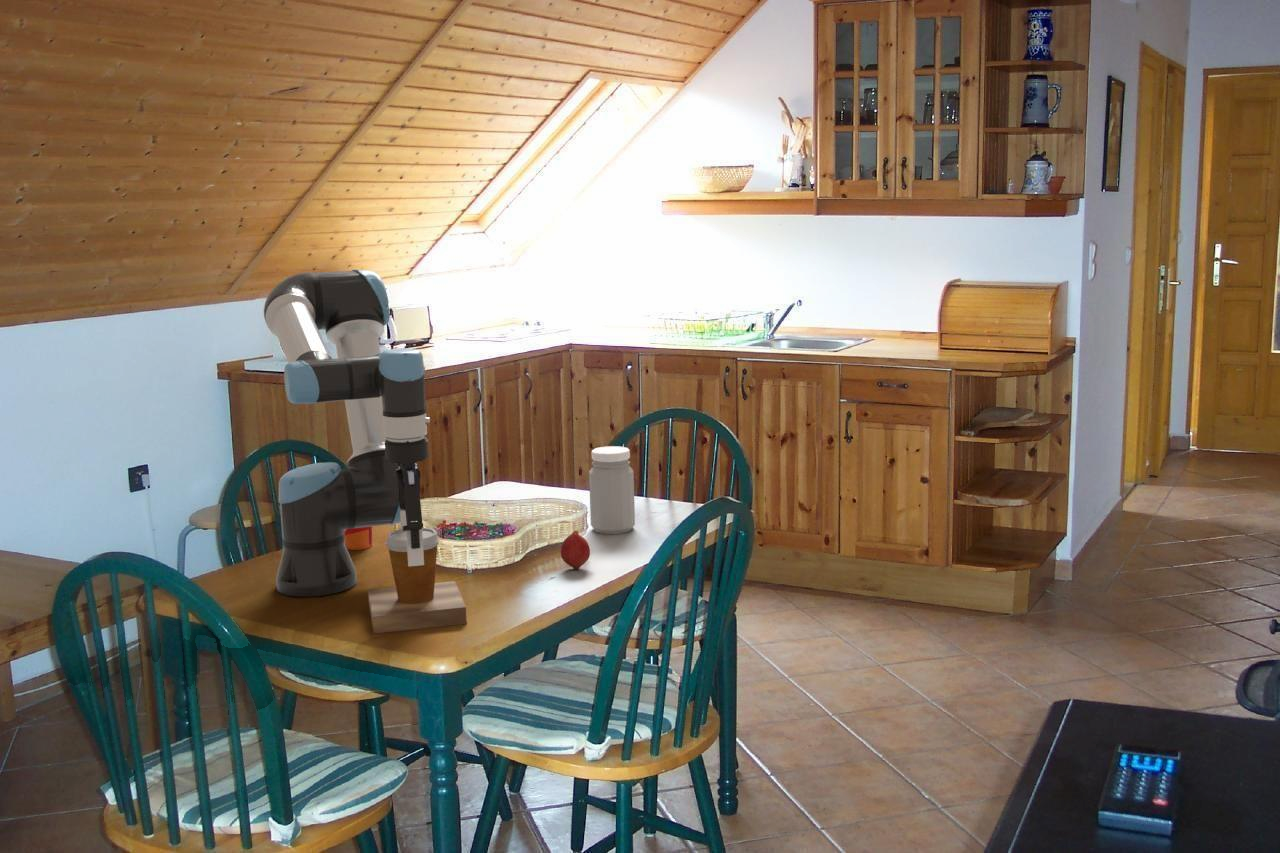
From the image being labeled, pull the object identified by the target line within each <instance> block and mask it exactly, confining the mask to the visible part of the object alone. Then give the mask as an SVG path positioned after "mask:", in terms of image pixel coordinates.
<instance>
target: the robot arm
mask: <svg viewBox="0 0 1280 853" xmlns="http://www.w3.org/2000/svg"><path fill="white" fill-rule="evenodd" d="M389 303H390V301H389V297H388V293H387V290H386V287H385V284H384V282H383V280H382V278H381V277H380V275H379V274H378V273H377V272H375V271H372V270H367V269H366V270H359V269H352V270H343V271H341V270H338V271H326V272H325V271H323V272H322V271H321V272H320V271H319V272H301V273H296V274H293V275H291V276H288V277H287V278H285V279H283V280H282V281H280V282H279V283H278V284H277V285H276V286H274V288H272V290H271V291H270V292H269V294H268V295H267V297H266V299H265V303H264V306H263V317H264V320H265V324H266V325H267V328H268V329H269V331H270V332H271V333H272V334H273V335H274V336H275V337H277V339H278V342H279V344H280V346H281V348H282V350H283V353H284V356H285V358H286V360H287V362H288V363H287V364H285V365H284V366H285V367H284V368H283V370H284V371H283V372H284V373H283V377H284V381H283V382H284V388H285V393H286V398H287V400H288V402H290V403H291V404H294V405H298V404H299V405H301V404H305V405H306V404H307V405H314V404H319V403H328V402H339V401H344V403H345V404H344V405H345V410H346V416H347V422H348V423H347V424H348V429H349V434H350V435H349V436H350V441H351V447H352V454H351V455H350V457H349V458H348V459H347V460H346V466H347V468H346V469H345V468H344V469H342V468H341V466H340V464H339V463H337V462H332V461H328V462H327V461H326V462H316V463H311V464H306V465H303V466H299V467H295V468H293V469H291V470H289V471H287V472H285V473H284V474H283V475H282V476H281V477H280V479H279V482H278V498H277V499H278V501H277V502H278V503H279V508H280V511H279V512H280V524H281V538H282V553H281V557H280V562H279V564H278V570H277V572H276V579H275V582H276V591H277V592H279V594H282V595H286V596H291V597H298V598H299V597H300V598H301V597H302V598H304V597H309V598H310V597H319V596H327V595H332V594H337V593H340V592H344V591H346V590H348V589H351V588H352V587H354V586H356V585H357V582H358V579H357V570H356V566H355V564H354V562H353V560H352V558H351V555H350V552H349V550H348V549H347V547H346V545H345V536H344V530H346V529H354V528H362V527H370V526H372V527H377V526H378V527H379V526H386V525H387V526H388V525H391V526H393V525H395V524H399V523H400V529H403V531H406V538H407V555H408V567H409V566H420V565H424V552H423V534H422V528H424V523H423V515H422V504H421V483H420V482H421V470H419V467H418V464H417V463H418V462H424V461H426V460H427V459H428V458H429V457H430V456H429V439H428V438H427V437H426V435H427V434H428V426H427V425H428V424H430V422H431V419H430V417H427V402H426V383H425V382H426V381H425V374H426V373H425V372H426V367H425V363H424V356H423V353H422V351H421V350H419V349H416V348H410V347H409V348H406V347H405V348H404V347H403V348H392V349H386V350H383V351H382V352H381V346H380V342H379V338H380V337H381V336H382V335H383V334H384V333H385V332H384V331H385V326H387V325H388V324H389V322H390V316H391V310H390V306H389ZM320 330H325V335H326V339H327V340H328V341H329V342H330V343H332V344H333V345H334V346H335V350H336V354H337V358H333V357H332V355H331V353H330V351H329V349H328V347H327V344H326V342H325V340H324V339H323V337H322V334H321V332H320Z"/></svg>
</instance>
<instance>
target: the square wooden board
mask: <svg viewBox="0 0 1280 853" xmlns="http://www.w3.org/2000/svg"><path fill="white" fill-rule="evenodd" d="M367 598H368V608H369V609H368V610H369V614H370V620H371V626H372V632H373V634H381V633H382V634H383V633H391V632H392V633H393V632H401V631H409V630H411V631H412V630H419V629H427V628H438V627H445V626H446V627H447V626H455V625H456V626H457V625H464V624H465V625H466V624H467V622H468V621H467V606H466V604H465V602H464V599H463V597H462V594H461V592H460V590H459V588H458V585H457V582H456V581H454V580H453V581H443V582H435V585H434V598H433V599H432V600H430V601H427V602H423V603H417V604H406V603H402V602H400V601H399V600H398V596H397V590H396V586H393V587H391V586H390V587H383V588H375V589H373V588H372V589H367Z"/></svg>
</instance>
